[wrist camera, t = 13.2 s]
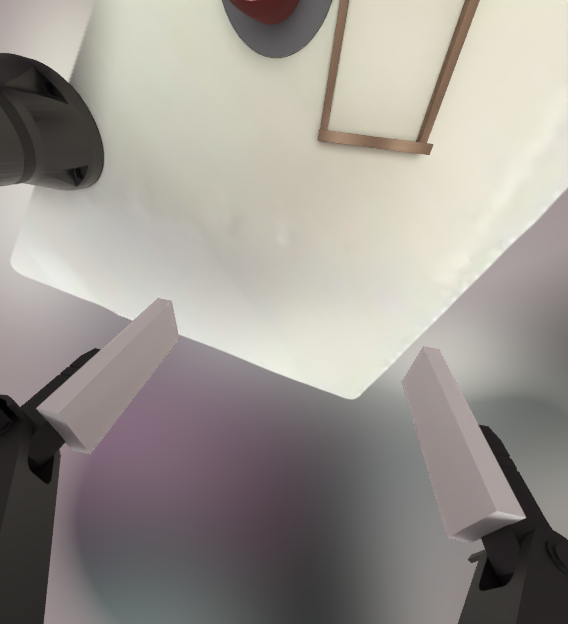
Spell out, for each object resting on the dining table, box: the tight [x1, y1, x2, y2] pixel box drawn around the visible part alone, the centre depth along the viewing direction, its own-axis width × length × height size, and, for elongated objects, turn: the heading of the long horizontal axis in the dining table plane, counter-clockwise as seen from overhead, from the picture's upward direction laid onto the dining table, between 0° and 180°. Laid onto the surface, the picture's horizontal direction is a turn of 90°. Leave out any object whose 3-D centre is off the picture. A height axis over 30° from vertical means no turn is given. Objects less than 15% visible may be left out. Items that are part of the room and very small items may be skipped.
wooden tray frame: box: [318, 0, 480, 155], centre depth 24 cm, size 13×16×4 cm
